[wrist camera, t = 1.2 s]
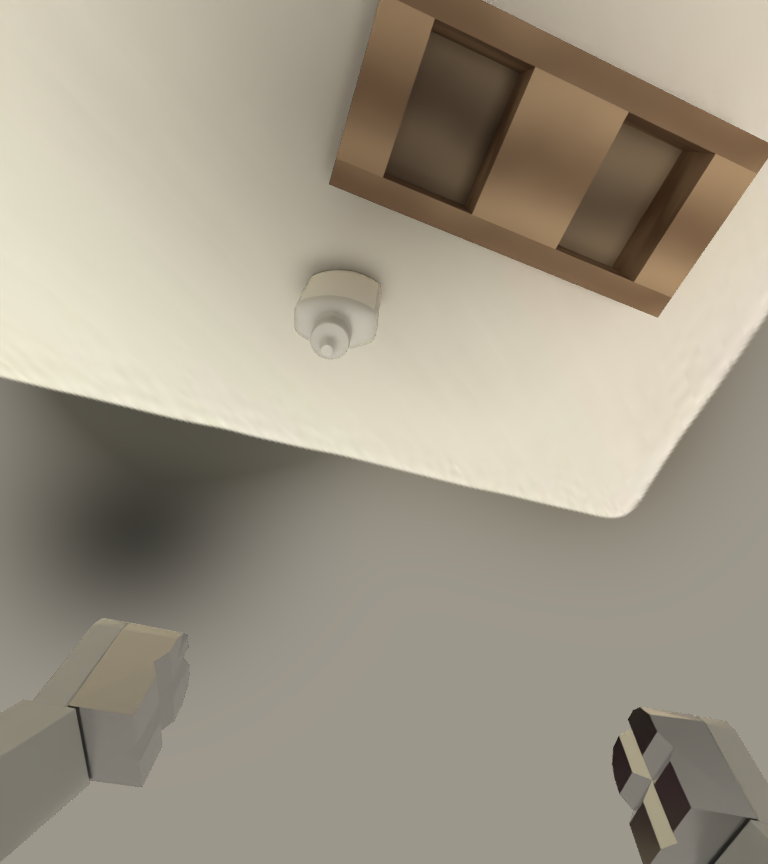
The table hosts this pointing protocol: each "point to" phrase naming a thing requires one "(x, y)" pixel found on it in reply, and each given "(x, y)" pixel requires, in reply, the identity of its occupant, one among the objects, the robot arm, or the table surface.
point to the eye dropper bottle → (338, 312)
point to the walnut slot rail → (539, 150)
